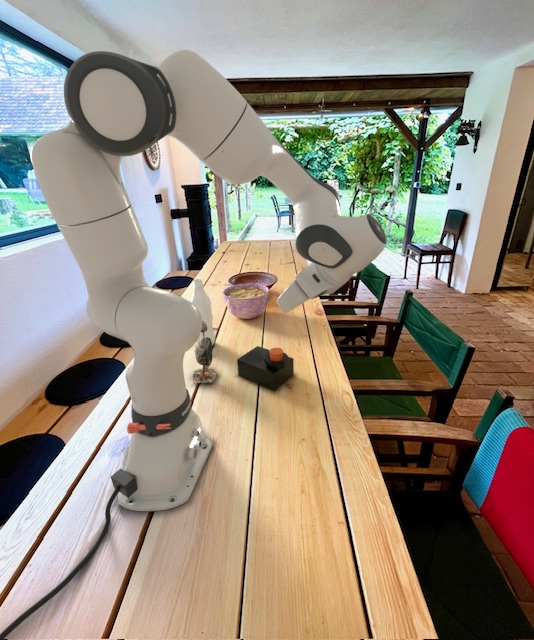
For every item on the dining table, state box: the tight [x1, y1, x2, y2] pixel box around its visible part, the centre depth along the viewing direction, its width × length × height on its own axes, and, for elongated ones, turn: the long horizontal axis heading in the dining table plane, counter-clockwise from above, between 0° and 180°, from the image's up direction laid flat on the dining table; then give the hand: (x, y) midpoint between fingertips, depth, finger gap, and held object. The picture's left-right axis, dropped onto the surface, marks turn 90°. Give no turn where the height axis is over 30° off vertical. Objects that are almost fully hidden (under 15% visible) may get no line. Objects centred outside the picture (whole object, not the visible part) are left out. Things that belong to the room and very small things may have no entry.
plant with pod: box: [191, 321, 218, 385], centre depth 97 cm, size 8×11×20 cm
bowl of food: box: [222, 283, 270, 320], centre depth 140 cm, size 20×20×12 cm
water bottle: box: [189, 278, 216, 347], centre depth 114 cm, size 7×7×25 cm
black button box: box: [236, 345, 295, 392], centre depth 98 cm, size 15×10×8 cm
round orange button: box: [269, 347, 284, 362], centre depth 93 cm, size 4×4×2 cm
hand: (290, 305), depth 84 cm, fingers open, 5 cm apart
